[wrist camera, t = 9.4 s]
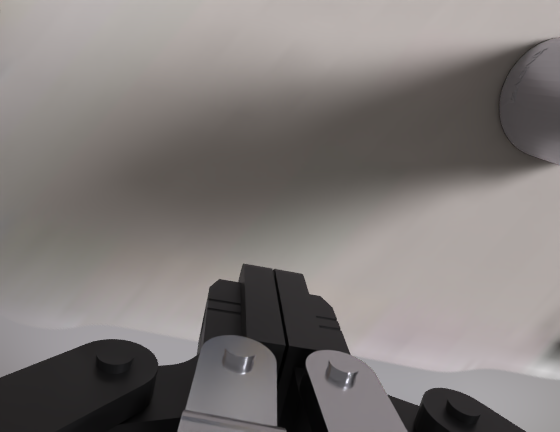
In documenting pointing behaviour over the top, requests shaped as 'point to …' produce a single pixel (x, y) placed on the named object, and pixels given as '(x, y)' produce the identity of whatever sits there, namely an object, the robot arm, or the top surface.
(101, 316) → the top surface
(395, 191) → the top surface
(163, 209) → the top surface
